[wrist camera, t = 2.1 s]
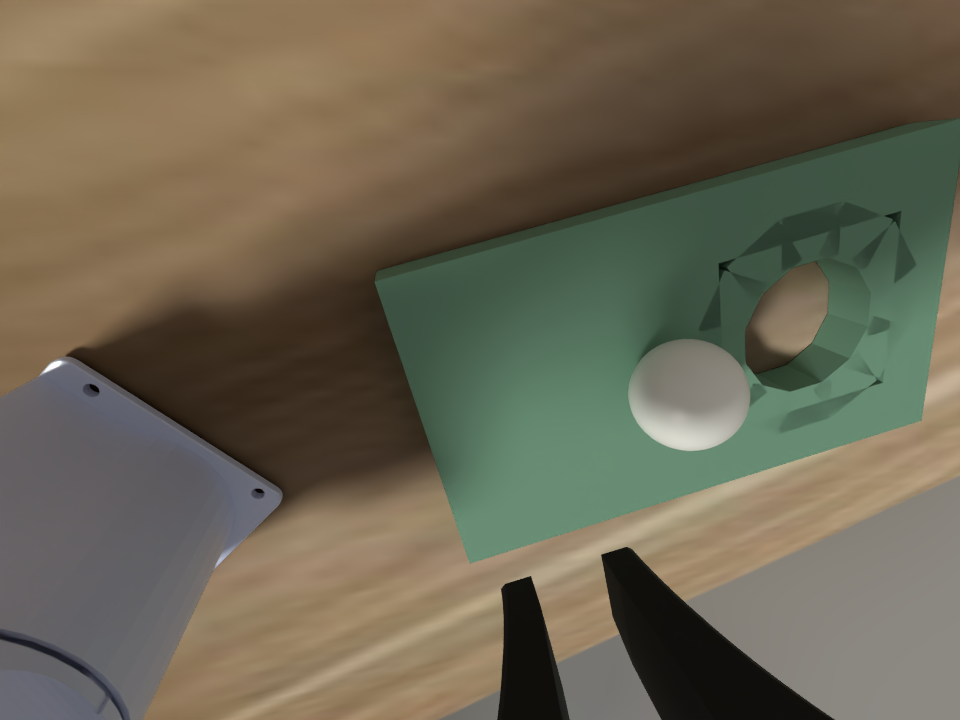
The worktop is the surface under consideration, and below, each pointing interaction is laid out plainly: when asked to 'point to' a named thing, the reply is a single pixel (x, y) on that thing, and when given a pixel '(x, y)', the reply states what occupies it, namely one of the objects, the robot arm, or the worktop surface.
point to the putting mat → (672, 331)
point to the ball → (689, 394)
